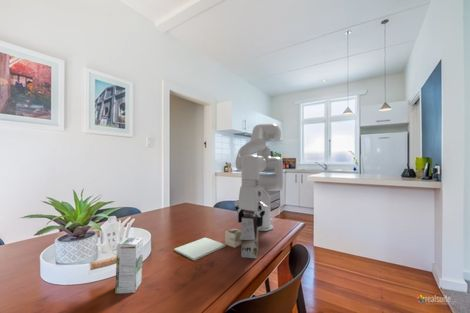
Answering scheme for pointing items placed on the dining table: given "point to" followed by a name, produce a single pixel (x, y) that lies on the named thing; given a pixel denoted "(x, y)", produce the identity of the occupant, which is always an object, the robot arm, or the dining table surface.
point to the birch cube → (233, 237)
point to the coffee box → (249, 236)
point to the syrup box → (129, 265)
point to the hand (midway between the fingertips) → (249, 224)
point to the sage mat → (199, 248)
